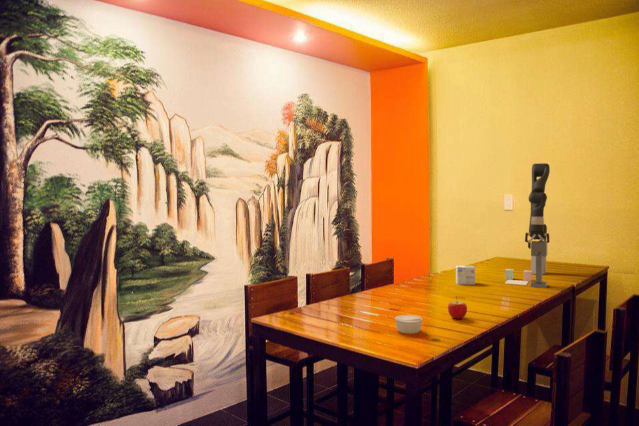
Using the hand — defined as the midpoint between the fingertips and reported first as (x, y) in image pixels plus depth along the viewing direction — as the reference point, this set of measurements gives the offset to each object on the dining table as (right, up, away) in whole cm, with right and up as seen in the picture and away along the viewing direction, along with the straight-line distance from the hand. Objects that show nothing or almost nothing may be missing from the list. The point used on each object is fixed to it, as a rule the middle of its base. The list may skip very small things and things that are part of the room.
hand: (537, 249), depth 320 cm
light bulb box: (-50, -20, -16) cm, 57 cm away
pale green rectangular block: (-19, -19, -3) cm, 27 cm away
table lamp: (-10, -20, -26) cm, 34 cm away
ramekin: (-102, -26, -112) cm, 154 cm away
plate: (-19, -19, -15) cm, 31 cm away
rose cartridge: (-10, -19, -9) cm, 23 cm away
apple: (-77, -25, -94) cm, 124 cm away
